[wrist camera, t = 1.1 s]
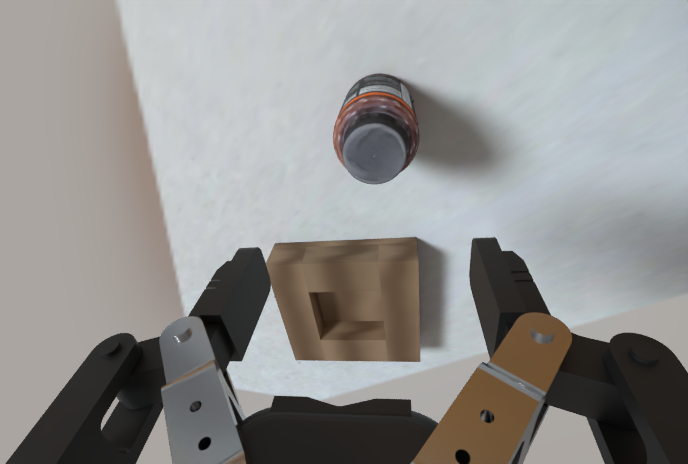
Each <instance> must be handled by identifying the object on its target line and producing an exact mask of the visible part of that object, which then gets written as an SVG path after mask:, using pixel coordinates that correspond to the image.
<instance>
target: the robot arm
mask: <svg viewBox="0 0 688 464" xmlns="http://www.w3.org/2000/svg"><path fill="white" fill-rule="evenodd" d="M469 276H470V286H471V290H472V294H473V298H474V301H475V305H476V309H477V312H478V316H479V320H480V323H481V327H482V331H483V334H484V338H485V342H486V345H487V349H488V353H489V356H490V361H489V362H488V363H487V364H486V363H484V362H483V363H481V364H480V365H479V366H478V367H477V368H476V370H475V371H474V373H473V374H472V376H471V377H470V379H469V380H468V382H467V383H466V384H465V386H464V387H463V389H462V390H461V392H460V393H459V395H458V396H457V398H456V399H455V400H454V402H453V404H452V405H451V406H450V408H449V409H448V411H447V412H446V414H445V415H444V417H443V418H442V420H441V421H440V422H439V424H438V423H437V422H436V421H434V420H432V419H431V418H428V417H427V416H425V415H422V414H420V413H417V412H414V411H411V400H403V399H402V400H401V399H372V400H368V401H363V402H359V403H355V404H350V405H346V406H334V405H331V404H328V403H325V402H321V401H318V400H315V399H312V398H309V397H295V396H274V399H273V402H272V406H271V407H270V408H266V409H264V410H261V411H258V412H256V413H254V414H252V415H251V416H249V417H247V418H245V416H244V414H243V411H242V408H241V406H240V403H239V400H238V397H237V394H236V392H235V389H234V386H233V384H232V381H231V378H230V375H229V373H228V371H227V366H228V364H229V362H230V361H242V360H243V357H244V355H245V352H246V350H247V347H248V345H249V342H250V340H251V337H252V335H253V332H254V330H255V327H256V325H257V322H258V320H259V317H260V315H261V312H262V310H263V307H264V305H265V302H266V300H267V297H268V295H269V292H270V287H271V281H270V276H269V273H268V270H267V267H266V263H265V260H264V257H263V254H262V251H261V249H260V248H258V247H256V248H240V249H238V251H237V252H236V254H235V256H234V257H233V259H232V261H227V262H226V263H225V264H223V265H222V266H221V267H220V268H219V269H218V270H217V271H216V272H215V274H214V276H213V277H212V279H211V281H210V282H209V284H208V285H207V287H206V289H205V290H204V292H203V293H202V295H201V296H200V298H199V300H198V301H197V303H196V304H195V306H194V308H193V309H192V311H191V313H190V314H189V316H188V317H184V318H181V319H178V320H176V321H174V322H173V323H171V325H169V326H168V327H167V328H166V329H165V330H164V331H163V332H162V334H161V336H160V337H157V338H153V339H149V340H145V341H141V342H137V341H136V339H135V338H134V336H132V335H131V334H129V333H120V334H117V335H114V336H111V337H110V338H107V339H105V340H104V341H102V342H101V343H100V344H99V345H97V346H96V347H95V348H94V349H93V351H92V352H91V353H90V354H89V356H88V357H87V358H86V360H85V361H84V362H83V363H82V365H81V366H80V367H79V369H78V370H77V371H76V372H75V374H74V375H73V377H72V378H71V379H70V380H69V382H68V383H67V384H66V386H65V387H64V388H63V389H62V391H61V392H60V393H59V395H58V396H57V397H56V399H55V400H54V401H53V402H52V404H51V405H50V406H49V408H48V409H47V410H46V412H45V413H44V414H43V415H42V417H41V418H40V420H39V421H38V422H37V423H36V425H35V426H34V427H33V428H32V430H31V431H30V432H29V434H28V435H27V436H26V438H25V439H24V440H23V442H22V443H21V444H20V445H19V447H18V448H17V449H16V451H15V452H14V453H13V455H12V456H11V457H10V458H9V460H8V461H7V462H6V464H136V462H137V460H138V458H139V455H140V454H141V451H142V449H143V447H144V445H145V443H146V441H147V439H148V437H149V435H150V433H151V431H152V429H153V427H154V425H155V423H156V421H157V419H158V417H159V415H160V413H161V411H162V409H163V407H164V413H165V419H166V426H167V431H168V438H169V445H170V451H171V457H172V463H173V464H523V462H524V459H525V457H526V455H527V453H528V450H529V448H530V446H531V444H532V442H533V440H534V438H535V436H536V434H537V431H538V429H539V427H540V425H541V423H542V421H543V419H544V417H545V415H546V412H547V410H548V408H549V406H554V407H557V408H560V409H563V410H566V411H569V412H573V413H576V414H579V415H582V416H585V417H587V420H588V422H589V425H590V427H591V430H592V432H593V435H594V437H595V440H596V443H597V445H598V448H599V450H600V453H601V455H602V458H603V460H604V463H605V464H688V373H687V371H686V370H685V368H684V367H683V366H682V364H681V363H680V361H679V360H678V358H677V357H676V356H675V354H674V353H673V352H672V351H671V350H670V349H669V348H667V347H666V346H665V345H663V344H662V343H660V342H659V341H657V340H655V339H653V338H650V337H647V336H644V335H641V334H636V333H621V334H618V335H615V336H614V337H613V338H612V339H611V340H610V343H607V342H603V341H599V340H594V339H590V338H586V337H582V336H578V335H576V334H573V333H571V332H570V330H569V329H568V327H567V326H566V325H565V324H564V323H563V322H561V321H560V320H559V319H557V318H555V317H553V316H551V314H550V312H549V310H548V308H547V306H546V304H545V302H544V300H543V298H542V296H541V294H540V292H539V290H538V288H537V286H536V284H535V282H533V278H532V276H531V274H530V273H529V270H528V268H527V266H526V264H525V262H524V260H523V259H522V258H520V257H519V256H518V255H517V254H515V253H514V252H513V251H502V250H501V248H500V246H499V243H498V241H497V239H496V238H495V237H493V238H473V240H472V247H471V259H470V272H469ZM115 397H117V398H118V399H119V402H118V404H117V406H116V407H115V409H114V411H113V412H112V414H111V416H110V417H109V419H108V421H107V422H106V424H105V426H104V427H103V429H102V431H101V422H102V419H103V417H104V415H105V414H106V412H107V410H108V409H109V407H110V406H111V404H112V402H113V401H114V399H115Z"/></svg>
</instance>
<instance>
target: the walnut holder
mask: <svg viewBox="0 0 688 464" xmlns="http://www.w3.org/2000/svg"><path fill="white" fill-rule="evenodd" d="M266 267H267V270H268V273H269V276H270V281H271V286H272V289H273V292H274V295H275V298H276V301H277V304H278V307H279V310H280V313H281V316H282V319H283V322H284V326H285V329H286V332H287V335H288V338H289V341H290V344H291V347H292V350H293V353H294V356H295V359H296V360H322V361H400V362H420V315H419V260H418V250H417V241H416V237H410V238H388V239H365V240H342V241H319V242H296V243H275V245H274V247H273V249H272V251H271V253H270V256H269V258H268V260H267V262H266Z"/></svg>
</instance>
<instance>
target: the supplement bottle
mask: <svg viewBox="0 0 688 464" xmlns="http://www.w3.org/2000/svg"><path fill="white" fill-rule="evenodd" d="M413 101H414V100H413ZM333 143H334V148H335V152H336V154H337V157H338V159H339V160H340V162H341V163H342V164H343V166H344V167H345V168H346V169H347V170H348V172H349V173H350V174H351V175H352V176H353V177H354V178H356V179H357V180H359V181H361V182H364V183H367V184H382V183H385V182H388V181H390V180H392V179H393V178H395V177H396V176H397V175H398V174H399V173H400V172H402V171H403V170H404V169H405V168H406V167H407V166H408V165H409V164H410V163H411V161H412V160H413V158H414V156H415V154H416V152H417V149H418V144H419V129H418V122H417V119H416V115H415V110H414V106H413V102H412V98H411V95H410V94H409V91H408V90H407V88H406V87H405V86H404V84H403V83H402V82H401V81H400V80H398V79H397V78H395V77H393V76H390V75H387V74H372V75H369V76H366V77H364V78H362V79H361V80H359V81H358V82H357V83H356V84H355V85H354V86H353V87H352V88H351V89H350V91H349V92H348V94H347V96H346V99H345V101H344V103H343V106H342V108H341V110H340V113H339V115H338V118H337V120H336V123H335V126H334V132H333Z"/></svg>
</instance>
